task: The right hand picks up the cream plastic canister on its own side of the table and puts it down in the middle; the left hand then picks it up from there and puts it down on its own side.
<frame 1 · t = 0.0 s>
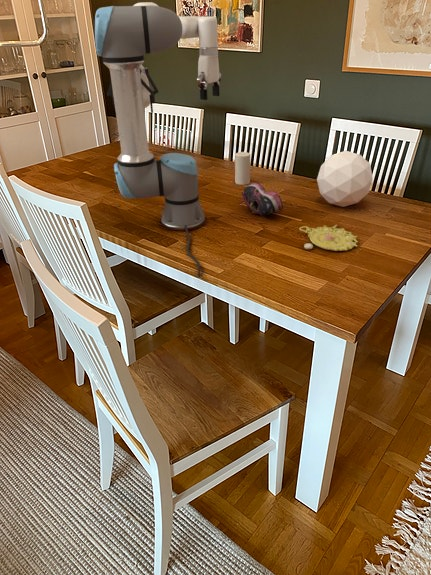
left hand: (210, 97, 188), 31 cm above the table, tool pointing down, fingers open, 9 cm apart
right hand: (135, 113, 181), 28 cm above the table, tool pointing down, fingers open, 13 cm apart
decorative object: (328, 239, 142), on the table
sphere: (341, 203, 166), on the table
canister: (242, 182, 189), on the table
athletic shoe: (257, 211, 163), on the table
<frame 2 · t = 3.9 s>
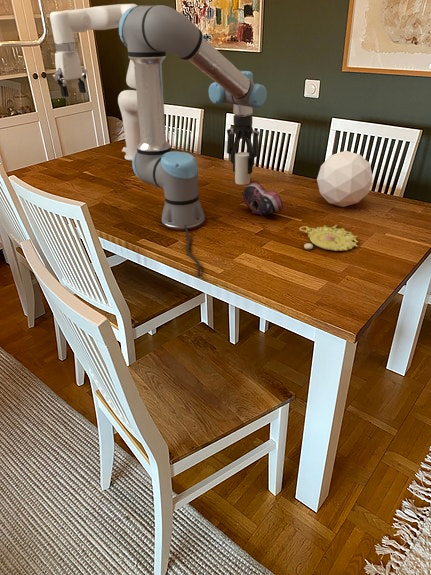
left hand: (74, 94, 184), 34 cm above the table, tool pointing down, fingers open, 9 cm apart
right hand: (242, 171, 187), 5 cm above the table, tool pointing down, fingers closed on canister, 6 cm apart
canister: (242, 182, 189), on the table, touching right hand
everything else where it was.
when the right hand's fingers open (6 cm above the table, at t = 7.3 s): canister drops 1 cm, on the table.
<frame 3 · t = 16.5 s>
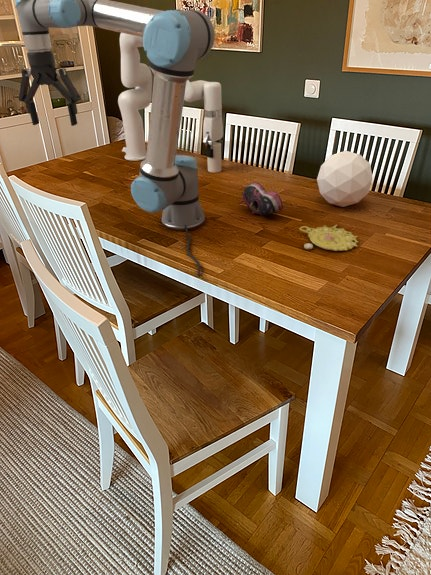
left hand: (214, 155, 200), 7 cm above the table, tool pointing down, fingers closed on canister, 6 cm apart
right hand: (55, 124, 144), 33 cm above the table, tool pointing down, fingers open, 13 cm apart
canister: (214, 170, 204), on the table, touching left hand
everything else where it was.
when the left hand's fingers open (8 cm above the table, at t = 24.6 s): canister drops 1 cm, on the table.
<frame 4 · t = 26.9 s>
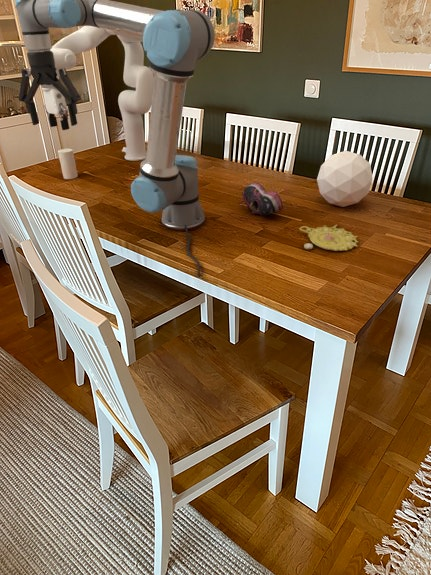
left hand: (59, 127, 190), 22 cm above the table, tool pointing down, fingers open, 9 cm apart
right hand: (55, 124, 144), 33 cm above the table, tool pointing down, fingers open, 13 cm apart
canister: (70, 176, 202), on the table
everything else where it was.
at the end: canister inside the target area (0.3 cm from its centre), on the table; canister tilted 0°; the two hands never held the canister at the same time; the left hand is holding nothing; the right hand is holding nothing; canister at rest at the end (0.0 cm/s) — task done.
